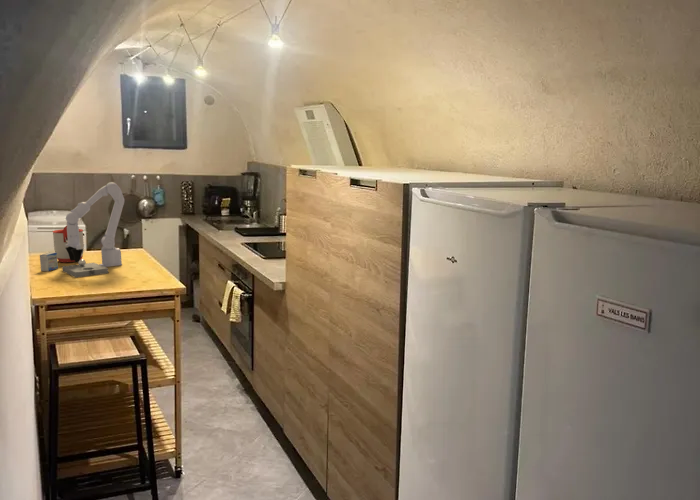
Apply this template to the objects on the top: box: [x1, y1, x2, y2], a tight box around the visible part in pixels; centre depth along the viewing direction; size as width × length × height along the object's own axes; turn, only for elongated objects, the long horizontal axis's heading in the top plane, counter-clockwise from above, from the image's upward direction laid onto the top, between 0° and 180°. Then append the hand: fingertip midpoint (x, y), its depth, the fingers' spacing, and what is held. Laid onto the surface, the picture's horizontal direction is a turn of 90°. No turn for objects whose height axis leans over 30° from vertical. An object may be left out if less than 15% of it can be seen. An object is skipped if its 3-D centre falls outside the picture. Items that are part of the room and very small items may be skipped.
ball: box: [77, 258, 86, 266], centre depth 334 cm, size 4×4×4 cm
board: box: [61, 262, 109, 278], centre depth 331 cm, size 16×20×2 cm
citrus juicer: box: [52, 225, 85, 264], centre depth 360 cm, size 16×17×20 cm
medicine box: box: [39, 251, 59, 272], centre depth 337 cm, size 8×4×9 cm, turn 168°
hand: (75, 261), depth 342 cm, fingers open, 7 cm apart
